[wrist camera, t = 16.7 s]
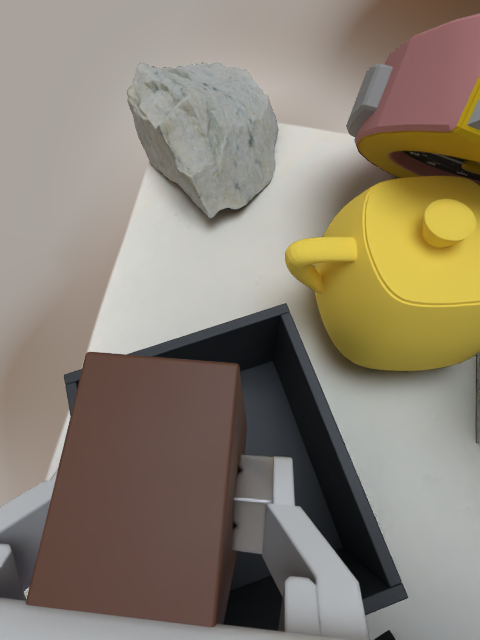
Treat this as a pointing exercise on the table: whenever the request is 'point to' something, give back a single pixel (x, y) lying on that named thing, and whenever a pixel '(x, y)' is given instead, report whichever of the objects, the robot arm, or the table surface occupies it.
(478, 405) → the decorative object
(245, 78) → the rock
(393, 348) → the teapot
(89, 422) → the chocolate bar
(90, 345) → the table surface
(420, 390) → the table surface
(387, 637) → the alarm clock
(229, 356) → the trash bin
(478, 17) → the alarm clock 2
